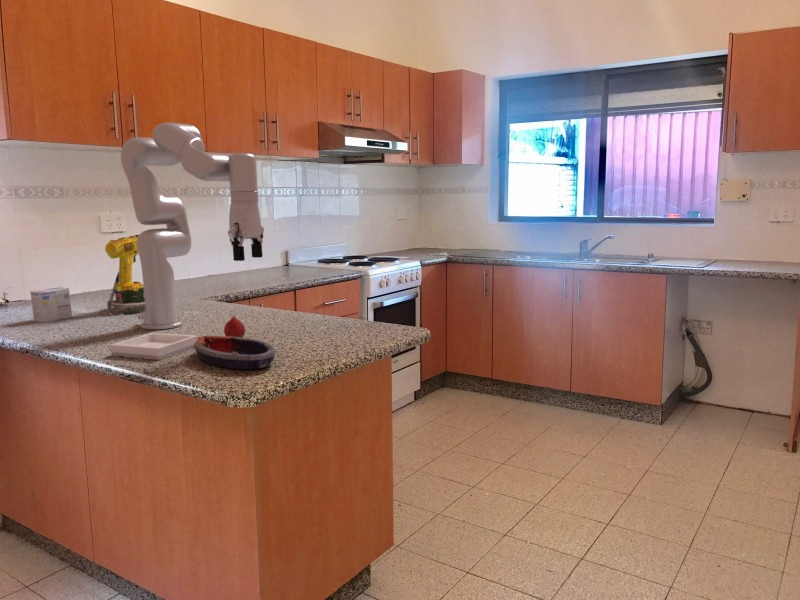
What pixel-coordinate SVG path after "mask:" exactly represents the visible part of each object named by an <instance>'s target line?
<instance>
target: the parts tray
mask: <svg viewBox="0 0 800 600" xmlns="http://www.w3.org/2000/svg"><path fill="white" fill-rule="evenodd" d="M198 338H199V335H194V334H193V335H190V334H179V333H178V334H177V333H163V332H162V333H161V332H160V333H159V332H150V333H147V334H143V335H140V336H139V335H138V336H136V337H132V338H129V339H126V340H122V341H119V342H114V343H112V344H109V345H110V354H111V355H114V356H113V357H119V356H124V357H123V358H131V357H134V359H143V358H144V359H145V360H158V361H161V360H164V359H167V358H170V357H172V356H176V355H178V354H180V353H184V352H186V351H189V350H192V349H194V343H195V342H196V341H197V339H198Z"/></svg>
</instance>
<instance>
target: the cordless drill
mask: <svg viewBox="0 0 800 600" xmlns="http://www.w3.org/2000/svg"><path fill="white" fill-rule="evenodd" d="M138 235H139V234H135V235H129V236H128V237H125V236H123V237H120V238H119V237H118V239H114V240H113V239H110V240H109V241H108V243H107V244H106V245H105V247H104V249H105V250H104V251H105V252H106V254H107V256H108V257H109V258H110V259H112V260H113V259H118V258H119V261H118V262H119V264H118V265H119V266H118V272H117V275H116V277H115V280H114V283H113V287H112V288H111V289H112V290H111V292H110V296H109V300H107V301H106V302H107V304H106V305H107V310H108V311H109V313H110V314H111V315H117V314H122V315H137V314H140V313H143V312H146V311H145V299H144V286H143V283H142V282H140V281H133V267H132V266H133V264H134V263H136V262H137V261H136V257H137V255H139V253H138V250H137V245H136V241H137V237H138ZM114 298H115V299H114Z"/></svg>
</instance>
